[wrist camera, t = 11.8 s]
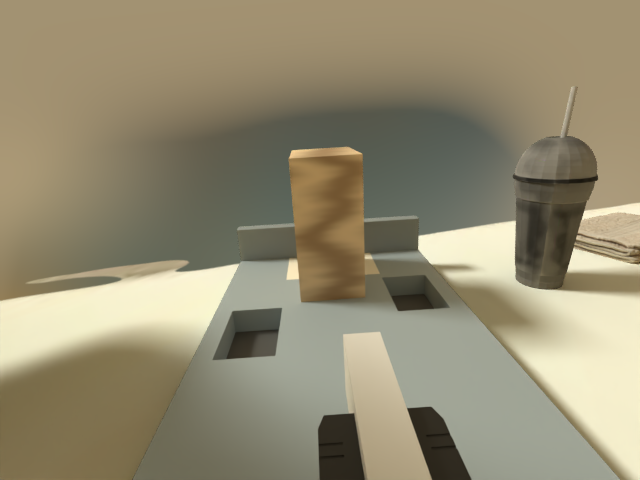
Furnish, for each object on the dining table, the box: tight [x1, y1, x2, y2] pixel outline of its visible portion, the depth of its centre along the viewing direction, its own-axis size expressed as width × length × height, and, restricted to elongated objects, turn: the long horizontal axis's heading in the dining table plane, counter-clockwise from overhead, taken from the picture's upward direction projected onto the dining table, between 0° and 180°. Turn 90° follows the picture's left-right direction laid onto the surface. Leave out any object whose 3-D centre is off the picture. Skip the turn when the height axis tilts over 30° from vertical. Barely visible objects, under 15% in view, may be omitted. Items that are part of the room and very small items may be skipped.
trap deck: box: [132, 216, 620, 480], centre depth 30 cm, size 22×32×6 cm
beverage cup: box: [513, 87, 598, 289], centre depth 36 cm, size 7×7×20 cm
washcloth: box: [574, 213, 640, 263], centre depth 49 cm, size 12×18×3 cm, turn 115°
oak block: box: [289, 147, 365, 302], centre depth 35 cm, size 6×10×13 cm, turn 3°
